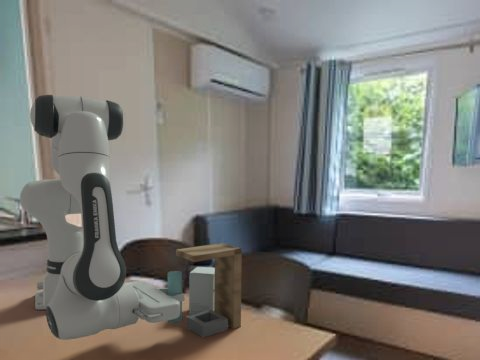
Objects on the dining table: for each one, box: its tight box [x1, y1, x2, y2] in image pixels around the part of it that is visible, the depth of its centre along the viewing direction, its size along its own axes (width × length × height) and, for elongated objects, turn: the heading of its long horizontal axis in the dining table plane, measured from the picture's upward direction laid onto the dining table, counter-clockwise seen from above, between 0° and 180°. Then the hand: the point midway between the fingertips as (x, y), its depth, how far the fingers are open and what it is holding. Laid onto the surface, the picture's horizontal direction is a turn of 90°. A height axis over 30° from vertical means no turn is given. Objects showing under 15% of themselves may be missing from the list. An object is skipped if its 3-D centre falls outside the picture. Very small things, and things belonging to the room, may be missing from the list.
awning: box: [175, 242, 243, 330], centre depth 103 cm, size 9×15×22 cm, turn 129°
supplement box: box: [188, 266, 215, 316], centre depth 115 cm, size 7×7×13 cm
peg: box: [167, 270, 183, 324], centre depth 97 cm, size 4×4×12 cm
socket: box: [186, 310, 229, 339], centre depth 103 cm, size 8×8×3 cm
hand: (177, 293), depth 97 cm, fingers closed on peg, 4 cm apart
